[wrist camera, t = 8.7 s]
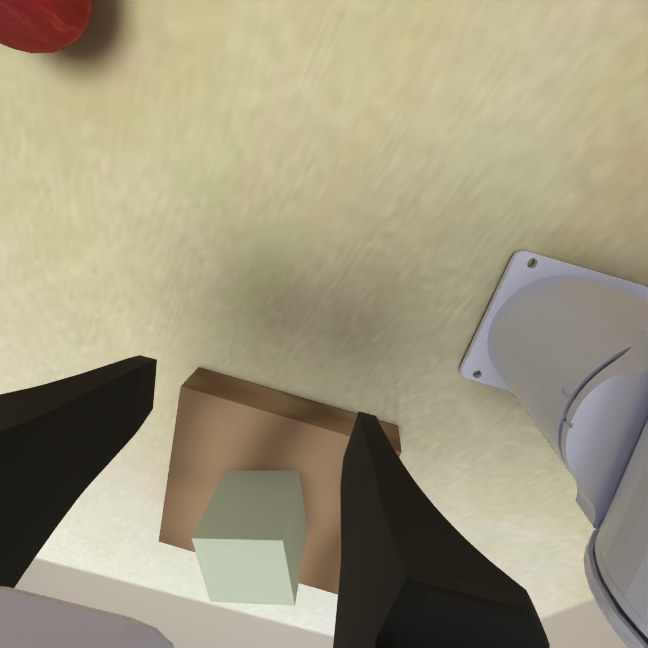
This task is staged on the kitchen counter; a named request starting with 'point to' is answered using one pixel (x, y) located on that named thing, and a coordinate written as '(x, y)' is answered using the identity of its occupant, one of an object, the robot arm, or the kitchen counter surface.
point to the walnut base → (260, 459)
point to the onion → (43, 23)
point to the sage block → (253, 537)
